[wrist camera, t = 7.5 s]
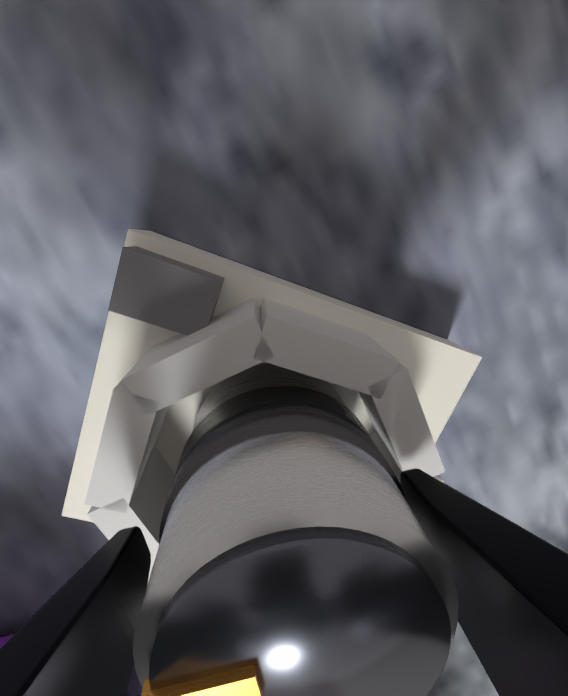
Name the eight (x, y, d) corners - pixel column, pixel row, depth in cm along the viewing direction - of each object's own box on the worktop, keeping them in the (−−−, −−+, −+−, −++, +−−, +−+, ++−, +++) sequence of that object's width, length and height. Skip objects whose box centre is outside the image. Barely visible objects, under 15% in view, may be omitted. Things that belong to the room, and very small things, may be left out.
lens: (361, 485, 12) (484, 741, 6) (212, 519, 12) (174, 825, 5) (342, 344, 10) (482, 487, 4) (170, 379, 10) (51, 586, 4)
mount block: (447, 339, 13) (546, 390, 8) (347, 535, 15) (384, 652, 11) (150, 231, 11) (82, 224, 6) (89, 475, 13) (10, 589, 9)
